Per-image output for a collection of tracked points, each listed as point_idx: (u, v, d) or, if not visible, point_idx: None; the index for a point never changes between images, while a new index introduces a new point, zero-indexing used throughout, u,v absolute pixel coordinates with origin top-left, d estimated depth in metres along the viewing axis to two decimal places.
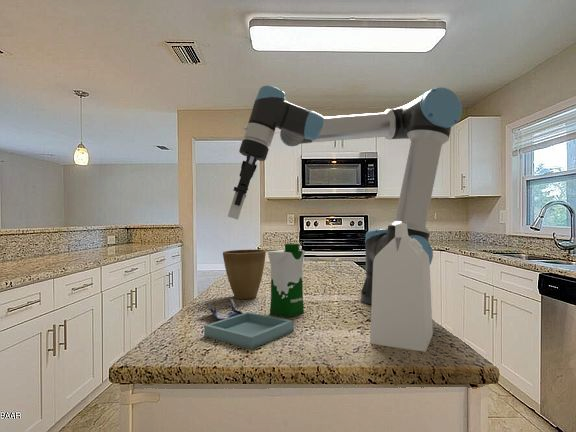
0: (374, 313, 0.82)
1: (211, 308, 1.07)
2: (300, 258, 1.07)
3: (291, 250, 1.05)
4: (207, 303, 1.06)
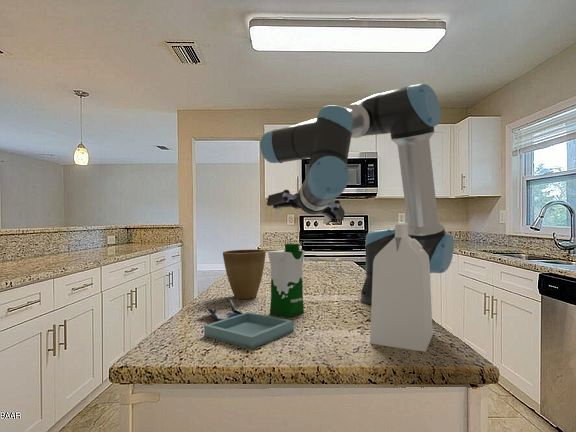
0: (374, 313, 0.82)
1: (210, 309, 1.07)
2: (300, 258, 1.07)
3: (291, 250, 1.05)
4: (206, 304, 1.06)
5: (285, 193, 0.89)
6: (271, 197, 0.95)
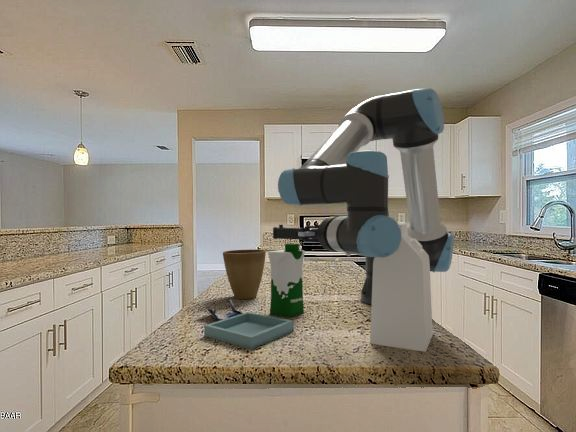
0: (374, 313, 0.82)
1: (209, 309, 1.07)
2: (300, 258, 1.07)
3: (291, 250, 1.05)
4: (205, 304, 1.05)
5: (303, 232, 0.82)
6: (279, 231, 0.87)
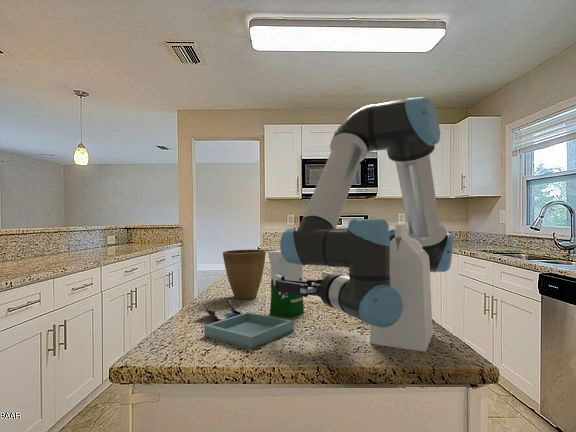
0: None
1: (207, 310, 1.06)
2: None
3: None
4: (204, 305, 1.04)
5: (305, 289, 0.82)
6: (281, 285, 0.87)
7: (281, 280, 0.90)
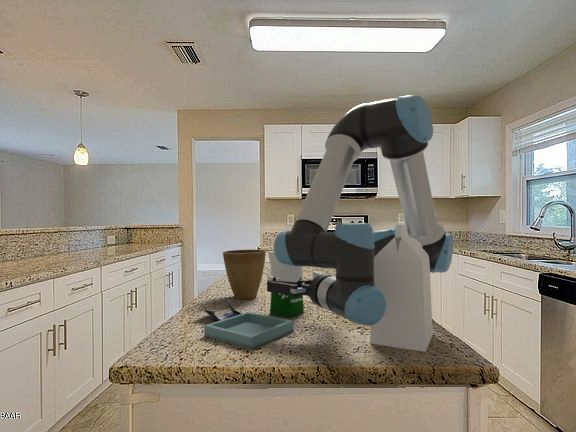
0: None
1: None
2: None
3: None
4: None
5: (295, 290, 0.86)
6: (272, 285, 0.91)
7: (273, 281, 0.94)
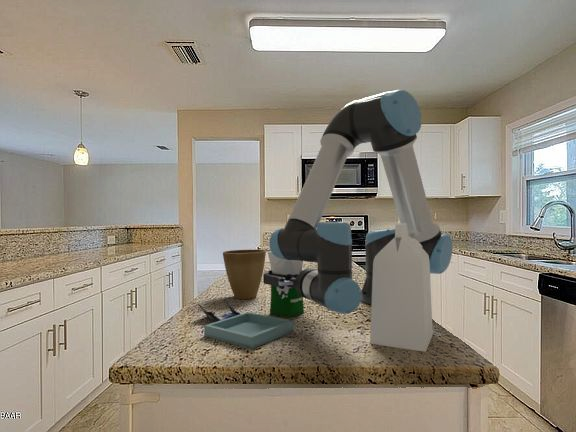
0: (374, 313, 0.83)
1: None
2: None
3: None
4: (201, 307, 1.02)
5: (281, 282, 0.95)
6: (266, 278, 1.01)
7: (268, 274, 1.04)
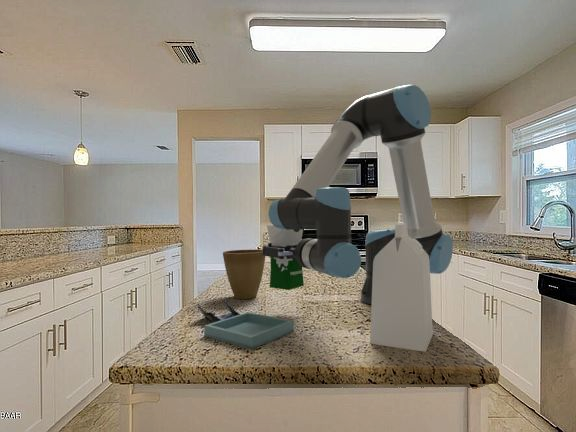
0: (374, 313, 0.82)
1: (203, 312, 1.03)
2: (299, 230, 1.07)
3: None
4: (200, 307, 1.01)
5: (280, 252, 0.95)
6: (266, 250, 1.01)
7: (268, 246, 1.04)
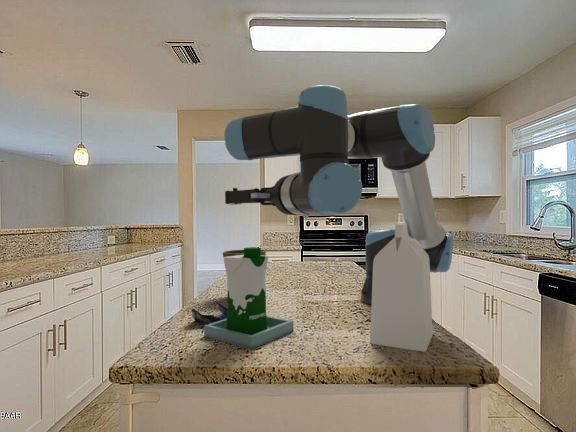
0: (374, 313, 0.83)
1: (196, 316, 0.99)
2: (261, 265, 0.88)
3: (250, 255, 0.87)
4: (195, 311, 0.98)
5: (255, 193, 0.70)
6: (231, 194, 0.75)
7: None
